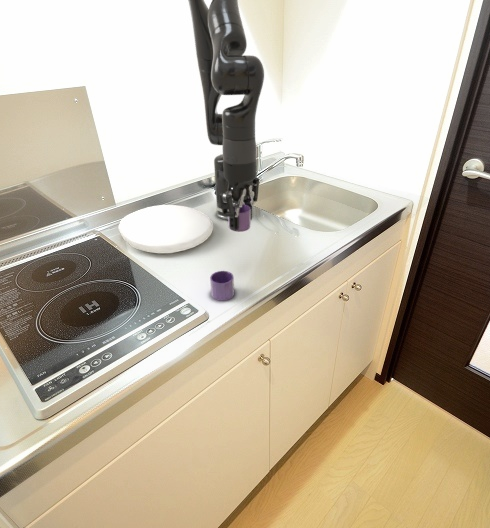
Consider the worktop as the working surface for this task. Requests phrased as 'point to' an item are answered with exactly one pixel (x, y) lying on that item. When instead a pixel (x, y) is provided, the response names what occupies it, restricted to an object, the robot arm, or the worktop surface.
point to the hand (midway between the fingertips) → (241, 224)
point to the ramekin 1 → (222, 285)
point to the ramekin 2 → (243, 218)
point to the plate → (165, 228)
